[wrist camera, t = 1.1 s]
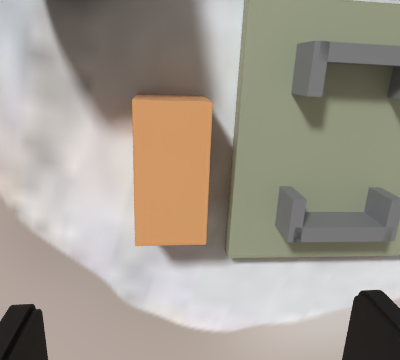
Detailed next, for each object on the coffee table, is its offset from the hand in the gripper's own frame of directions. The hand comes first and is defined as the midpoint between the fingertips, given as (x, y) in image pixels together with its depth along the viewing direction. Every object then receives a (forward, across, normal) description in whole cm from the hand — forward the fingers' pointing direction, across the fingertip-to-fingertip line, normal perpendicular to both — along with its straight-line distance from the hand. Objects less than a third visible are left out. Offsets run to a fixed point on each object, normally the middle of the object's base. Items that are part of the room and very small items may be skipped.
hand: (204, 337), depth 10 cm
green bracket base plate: (+19, -12, -2) cm, 23 cm away
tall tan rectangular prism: (+19, 0, -1) cm, 19 cm away
